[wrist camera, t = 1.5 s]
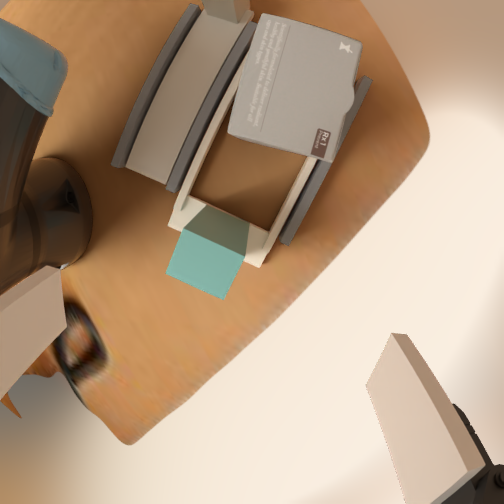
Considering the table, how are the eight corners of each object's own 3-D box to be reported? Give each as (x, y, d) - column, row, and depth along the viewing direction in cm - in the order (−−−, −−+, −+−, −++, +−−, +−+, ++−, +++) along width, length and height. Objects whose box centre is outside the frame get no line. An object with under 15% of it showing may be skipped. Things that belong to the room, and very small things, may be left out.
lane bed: (120, 163, 31) (110, 164, 28) (194, 12, 25) (190, 3, 22) (286, 239, 33) (288, 246, 31) (365, 84, 27) (372, 80, 25)
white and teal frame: (169, 224, 33) (131, 256, 22) (254, 46, 26) (251, 0, 16) (259, 265, 34) (259, 315, 24) (348, 91, 27) (388, 66, 17)
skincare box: (254, 70, 27) (250, 2, 12) (319, 87, 28) (369, 36, 13) (234, 142, 30) (211, 131, 15) (300, 159, 30) (339, 165, 15)
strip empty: (129, 166, 31) (99, 171, 24) (215, -2, 24) (205, -32, 17) (168, 183, 31) (145, 192, 25) (256, 11, 24) (256, -19, 18)
